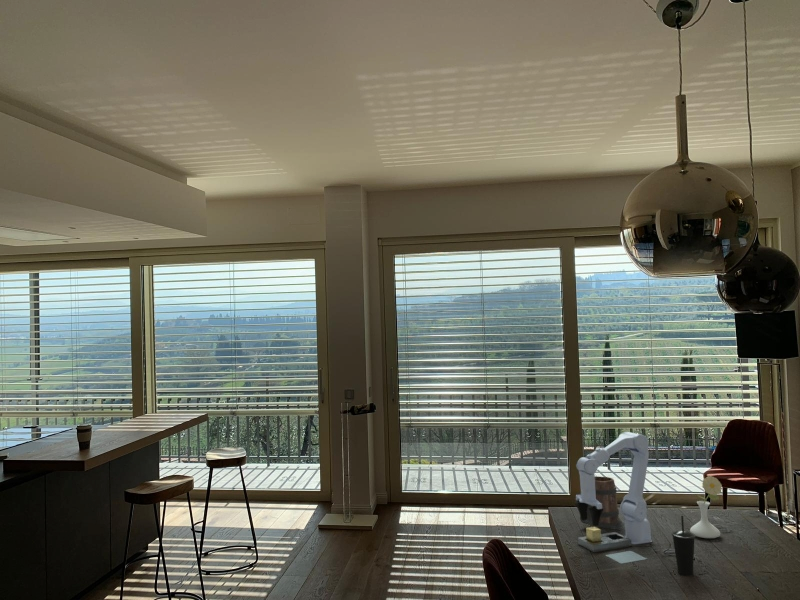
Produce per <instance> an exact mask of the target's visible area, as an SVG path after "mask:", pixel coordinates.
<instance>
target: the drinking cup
mask: <svg viewBox="0 0 800 600" xmlns="http://www.w3.org/2000/svg"><path fill="white" fill-rule="evenodd" d="M680 519H681V529H676V530H673V531H672V532H671V536H672V541H673V549H674V554H675V560H676V568H677V573H678V574H679V575H681V576H684V577H685V576H686V577H690V576H693V575H694V562H695V561H694V560H695V538H696V535H695V534H693V533H691V532H690V530H685V525H684V515H681V517H680Z"/></svg>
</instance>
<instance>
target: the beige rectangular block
mask: <svg viewBox="0 0 800 600" xmlns="http://www.w3.org/2000/svg"><path fill="white" fill-rule="evenodd" d="M585 530H586V532H585V533H586V534H585V536H587V541H589V542H591V543H597V542H601V534H602V530H601V528H599V527H591V526H588V527H585Z"/></svg>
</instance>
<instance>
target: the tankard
mask: <svg viewBox="0 0 800 600" xmlns="http://www.w3.org/2000/svg"><path fill="white" fill-rule="evenodd" d="M617 491H618V489H617V487H616V484H615V479H614V478H613V477H609V476H597V475H596V476H595V492H596V500H598V501H599V502H600V503H601V504H602V508H603V512H602V513H601V516H600V520H599V525H597V526H593V523H592V516H591V513H590V511H589V508H591V507H593V506H591V505H589V504H588V508H587V520H581V517H580V516H579V520H580V522H581V524H584V525H587V524H588V525H590V526H589V527H591V526H593V527H596V528H605V529H611V530H618V529H622V528H623V527H625V522H623V521H622V518H619V517H620V515H619V514H620V511H619V508H618V498H617V497H618V496H617ZM588 525H587V526H588Z"/></svg>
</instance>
